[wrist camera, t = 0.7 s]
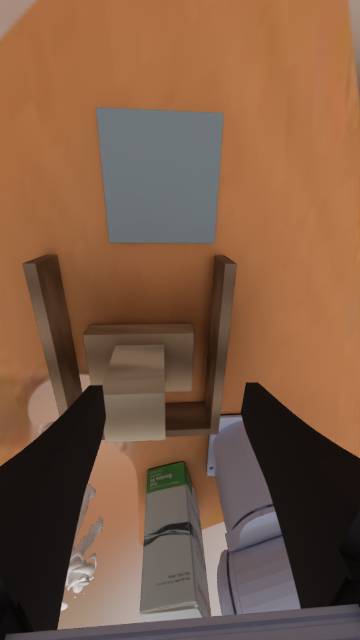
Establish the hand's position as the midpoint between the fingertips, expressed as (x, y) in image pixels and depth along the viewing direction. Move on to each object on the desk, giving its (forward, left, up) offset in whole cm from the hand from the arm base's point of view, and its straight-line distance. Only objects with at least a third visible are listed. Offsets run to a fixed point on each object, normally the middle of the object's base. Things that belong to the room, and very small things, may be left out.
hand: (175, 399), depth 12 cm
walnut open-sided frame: (-2, +3, -10) cm, 11 cm away
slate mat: (+11, +1, -10) cm, 15 cm away
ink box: (-23, 0, -11) cm, 26 cm away
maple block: (-3, +3, -8) cm, 9 cm away
